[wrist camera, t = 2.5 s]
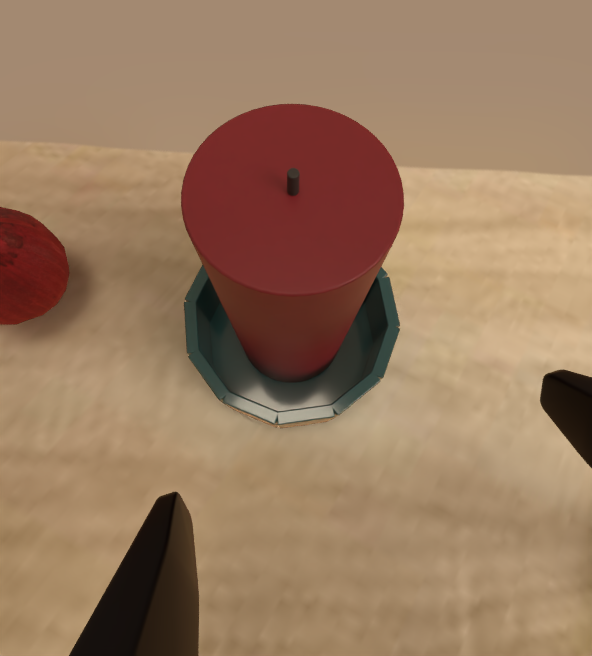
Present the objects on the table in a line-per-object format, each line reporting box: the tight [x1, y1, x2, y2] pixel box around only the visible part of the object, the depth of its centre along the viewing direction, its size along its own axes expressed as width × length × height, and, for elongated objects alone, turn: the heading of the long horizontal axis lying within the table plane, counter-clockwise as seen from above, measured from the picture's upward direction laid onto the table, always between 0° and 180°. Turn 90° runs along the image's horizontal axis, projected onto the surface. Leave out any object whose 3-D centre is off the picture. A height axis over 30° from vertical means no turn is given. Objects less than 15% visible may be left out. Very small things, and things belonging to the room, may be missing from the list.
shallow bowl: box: [184, 265, 400, 428], centre depth 21 cm, size 10×10×4 cm
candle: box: [181, 104, 404, 382], centre depth 16 cm, size 6×6×14 cm
